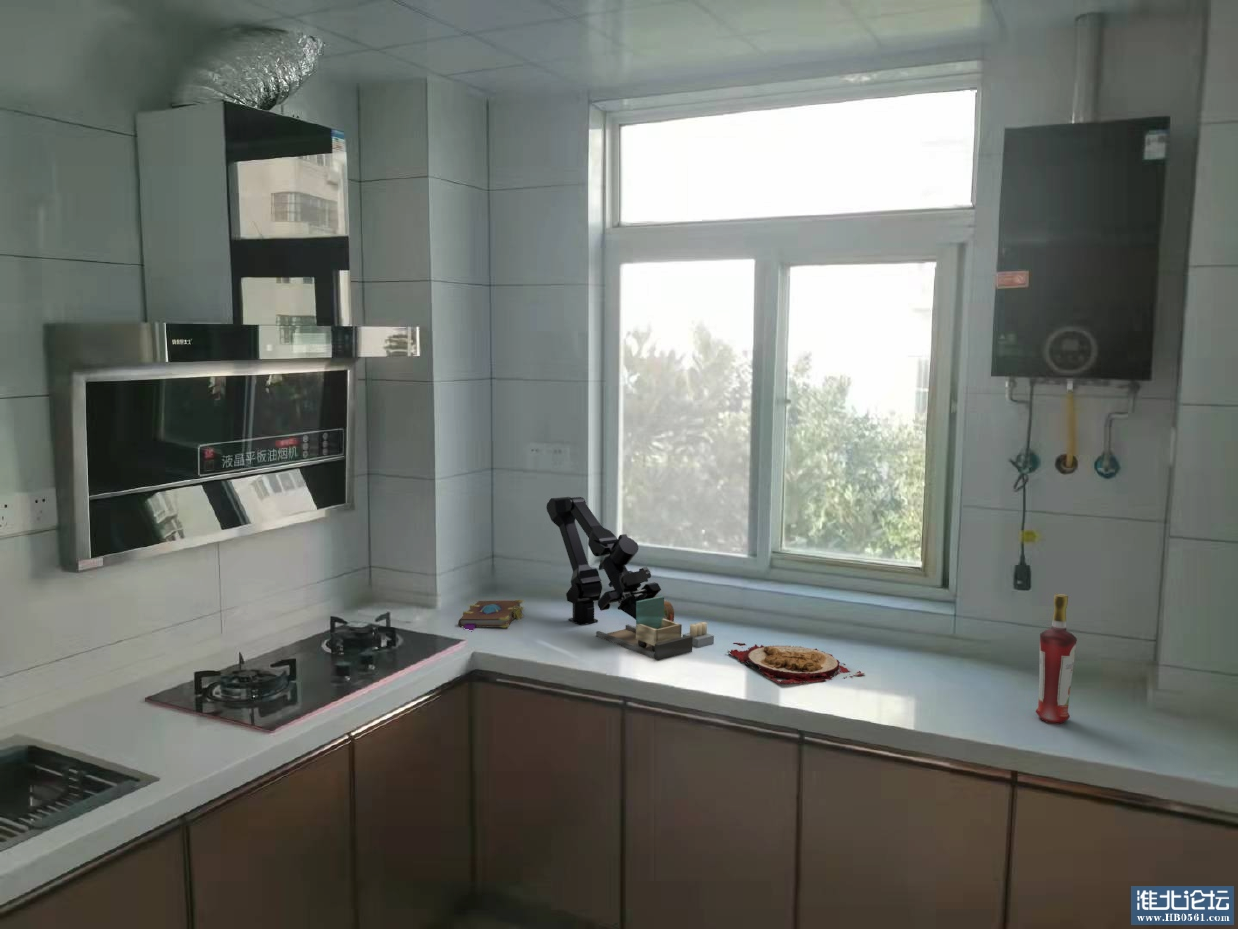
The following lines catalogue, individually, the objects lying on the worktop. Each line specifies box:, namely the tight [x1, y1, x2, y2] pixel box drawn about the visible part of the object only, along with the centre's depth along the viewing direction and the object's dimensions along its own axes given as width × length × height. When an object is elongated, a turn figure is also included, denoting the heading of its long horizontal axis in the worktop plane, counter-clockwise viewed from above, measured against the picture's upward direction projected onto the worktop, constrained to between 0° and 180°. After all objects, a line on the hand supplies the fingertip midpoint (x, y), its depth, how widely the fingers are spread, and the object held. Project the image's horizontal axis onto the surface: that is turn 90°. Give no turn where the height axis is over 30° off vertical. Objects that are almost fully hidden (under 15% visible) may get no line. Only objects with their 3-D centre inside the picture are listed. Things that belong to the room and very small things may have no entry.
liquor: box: [1035, 593, 1078, 724], centre depth 208 cm, size 7×7×28 cm
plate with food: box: [728, 642, 865, 685], centre depth 243 cm, size 25×26×4 cm
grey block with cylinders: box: [682, 621, 715, 648], centre depth 258 cm, size 6×6×6 cm
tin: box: [654, 595, 675, 622], centre depth 275 cm, size 15×3×8 cm, turn 25°
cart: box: [635, 595, 683, 652], centre depth 251 cm, size 8×9×13 cm
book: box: [458, 599, 524, 633], centre depth 279 cm, size 16×25×5 cm, turn 173°
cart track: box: [595, 624, 693, 661], centre depth 256 cm, size 26×12×5 cm, turn 40°
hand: (643, 622), depth 256 cm, fingers closed
